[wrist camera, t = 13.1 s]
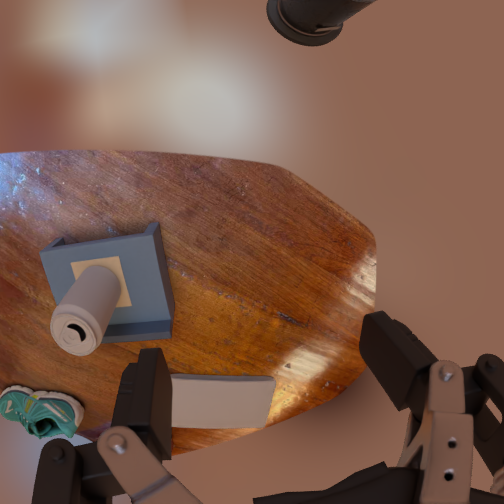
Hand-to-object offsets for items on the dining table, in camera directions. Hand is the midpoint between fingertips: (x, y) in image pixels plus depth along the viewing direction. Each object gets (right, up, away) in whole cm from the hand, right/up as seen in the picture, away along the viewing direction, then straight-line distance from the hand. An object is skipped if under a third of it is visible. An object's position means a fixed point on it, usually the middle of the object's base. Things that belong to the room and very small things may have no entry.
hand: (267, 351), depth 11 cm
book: (-7, -27, +46) cm, 54 cm away
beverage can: (-21, -1, +26) cm, 34 cm away
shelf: (-22, +1, +32) cm, 39 cm away
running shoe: (-53, -32, +40) cm, 73 cm away
